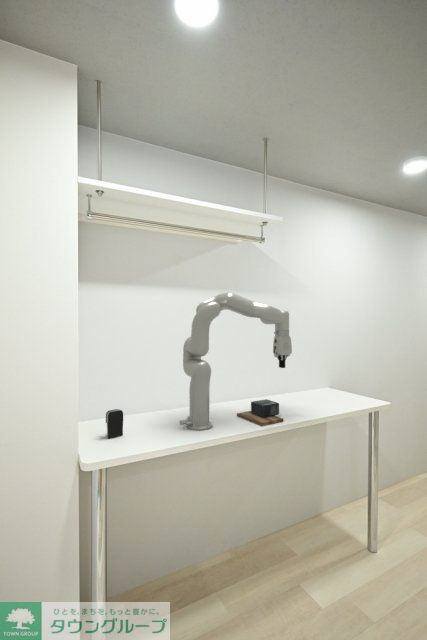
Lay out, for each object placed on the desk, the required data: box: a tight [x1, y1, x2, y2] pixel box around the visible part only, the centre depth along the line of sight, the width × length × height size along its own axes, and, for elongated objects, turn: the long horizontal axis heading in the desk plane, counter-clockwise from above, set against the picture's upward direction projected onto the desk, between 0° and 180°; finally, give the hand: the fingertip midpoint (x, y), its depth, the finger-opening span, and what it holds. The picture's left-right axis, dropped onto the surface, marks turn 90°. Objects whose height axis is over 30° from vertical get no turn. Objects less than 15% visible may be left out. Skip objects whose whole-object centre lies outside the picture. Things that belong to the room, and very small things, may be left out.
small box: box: [250, 399, 280, 417], centre depth 168 cm, size 11×6×10 cm
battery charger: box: [105, 408, 124, 439], centre depth 140 cm, size 7×4×11 cm, turn 130°
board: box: [236, 410, 284, 427], centre depth 165 cm, size 14×20×2 cm
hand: (282, 367), depth 174 cm, fingers closed
